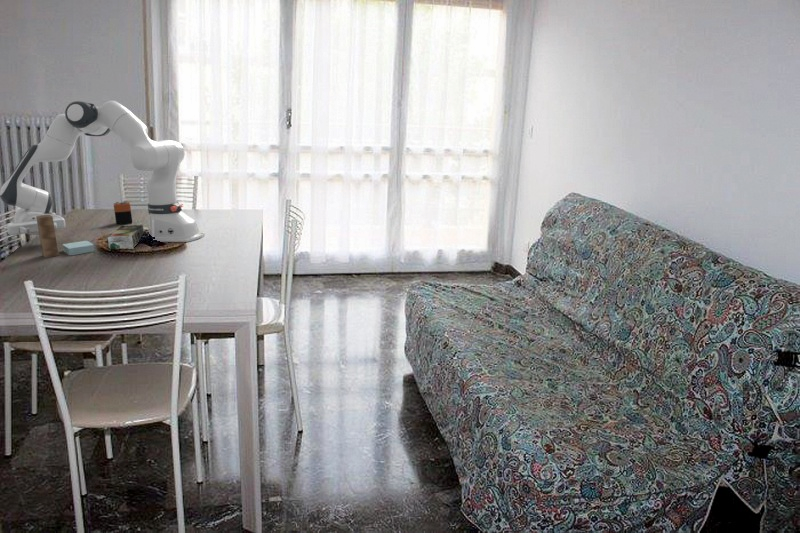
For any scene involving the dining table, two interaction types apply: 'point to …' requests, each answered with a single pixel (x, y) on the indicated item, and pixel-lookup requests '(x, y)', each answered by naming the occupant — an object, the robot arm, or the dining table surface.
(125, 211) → the battery
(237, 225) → the dining table surface
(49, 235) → the walnut post
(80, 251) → the teal block
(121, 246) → the juice carton
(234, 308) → the dining table surface
